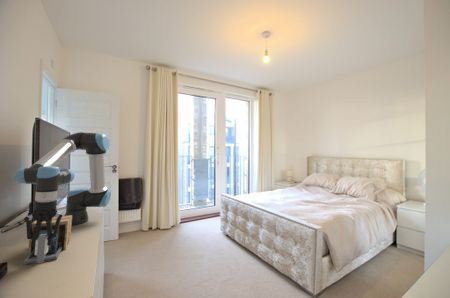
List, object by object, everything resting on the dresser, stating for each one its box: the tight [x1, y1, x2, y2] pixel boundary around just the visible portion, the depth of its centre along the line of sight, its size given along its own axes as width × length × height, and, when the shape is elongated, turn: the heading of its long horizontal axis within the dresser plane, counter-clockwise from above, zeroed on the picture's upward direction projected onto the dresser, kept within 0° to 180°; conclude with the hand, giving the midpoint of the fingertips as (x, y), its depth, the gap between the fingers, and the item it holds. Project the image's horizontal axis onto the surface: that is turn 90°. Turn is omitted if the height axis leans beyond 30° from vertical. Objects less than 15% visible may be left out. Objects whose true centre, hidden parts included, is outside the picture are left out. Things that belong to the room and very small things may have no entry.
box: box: [33, 228, 60, 257], centre depth 95 cm, size 8×6×11 cm
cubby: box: [27, 214, 73, 256], centre depth 102 cm, size 11×14×14 cm
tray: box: [23, 234, 64, 266], centre depth 93 cm, size 14×11×12 cm
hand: (41, 253), depth 88 cm, fingers closed on tray, 2 cm apart
